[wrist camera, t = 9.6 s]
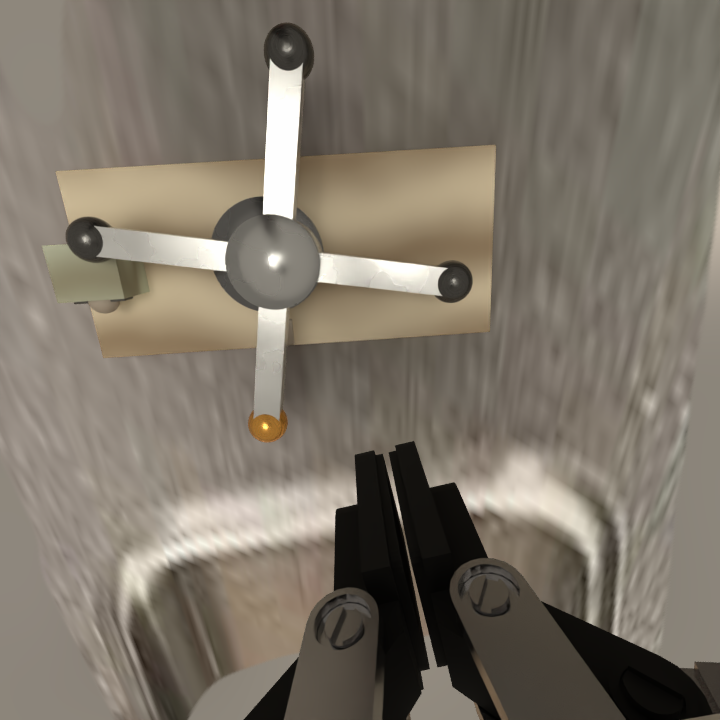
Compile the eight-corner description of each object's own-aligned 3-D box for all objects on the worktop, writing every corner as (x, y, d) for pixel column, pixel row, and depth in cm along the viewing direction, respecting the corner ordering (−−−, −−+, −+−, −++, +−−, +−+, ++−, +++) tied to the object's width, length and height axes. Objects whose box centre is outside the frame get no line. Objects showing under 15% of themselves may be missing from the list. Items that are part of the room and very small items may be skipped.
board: (69, 174, 24) (14, 162, 20) (488, 149, 25) (517, 131, 20) (113, 352, 27) (73, 372, 23) (483, 327, 28) (507, 343, 24)
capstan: (486, 89, 22) (529, 45, 17) (425, 425, 28) (444, 468, 23) (102, 32, 21) (22, -36, 16) (121, 397, 27) (68, 436, 21)
